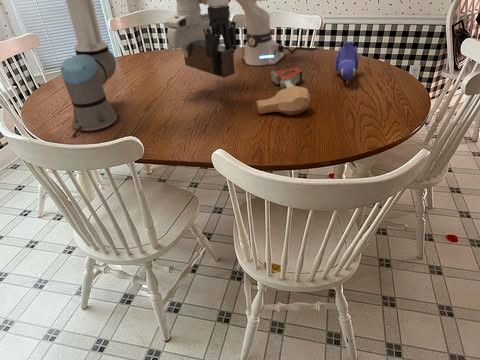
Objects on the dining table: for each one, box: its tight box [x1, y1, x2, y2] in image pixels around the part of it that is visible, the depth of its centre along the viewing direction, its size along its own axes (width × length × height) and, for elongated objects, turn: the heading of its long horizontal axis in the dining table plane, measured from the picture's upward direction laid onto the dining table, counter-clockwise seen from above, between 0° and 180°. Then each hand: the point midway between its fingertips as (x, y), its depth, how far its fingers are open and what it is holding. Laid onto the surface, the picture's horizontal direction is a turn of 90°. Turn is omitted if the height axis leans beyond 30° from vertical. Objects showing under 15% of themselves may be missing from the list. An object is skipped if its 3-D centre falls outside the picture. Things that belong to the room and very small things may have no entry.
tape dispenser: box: [270, 67, 303, 90], centre depth 150 cm, size 18×5×20 cm
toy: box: [334, 40, 360, 86], centre depth 151 cm, size 10×17×25 cm
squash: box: [255, 85, 312, 116], centre depth 130 cm, size 11×20×9 cm, turn 92°
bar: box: [183, 40, 236, 78], centre depth 137 cm, size 24×6×10 cm, turn 44°
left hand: (223, 72), depth 134 cm, fingers closed on bar, 6 cm apart
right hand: (194, 54), depth 143 cm, fingers closed on bar, 5 cm apart
